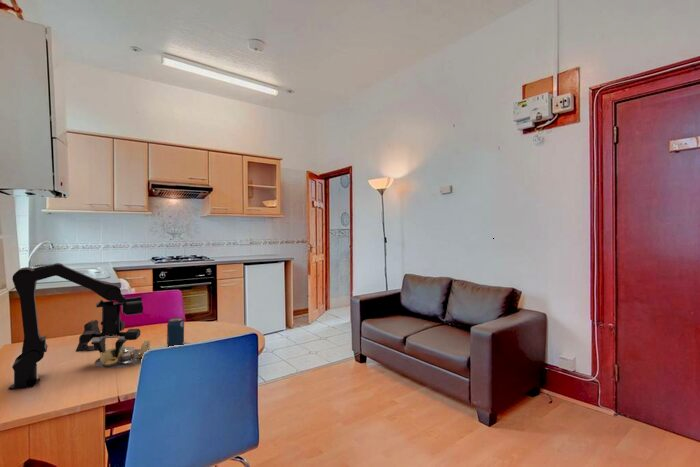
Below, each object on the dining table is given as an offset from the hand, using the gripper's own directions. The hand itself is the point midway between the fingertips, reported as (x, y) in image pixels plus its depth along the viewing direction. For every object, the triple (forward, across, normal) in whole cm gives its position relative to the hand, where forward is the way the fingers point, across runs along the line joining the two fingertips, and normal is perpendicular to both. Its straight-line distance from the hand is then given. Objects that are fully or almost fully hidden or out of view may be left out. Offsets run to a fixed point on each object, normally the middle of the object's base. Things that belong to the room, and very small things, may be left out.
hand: (110, 357), depth 134 cm
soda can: (+5, -18, -23) cm, 30 cm away
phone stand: (+5, +16, -25) cm, 30 cm away
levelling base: (+4, -3, -6) cm, 8 cm away
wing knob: (+3, 0, 0) cm, 3 cm away
